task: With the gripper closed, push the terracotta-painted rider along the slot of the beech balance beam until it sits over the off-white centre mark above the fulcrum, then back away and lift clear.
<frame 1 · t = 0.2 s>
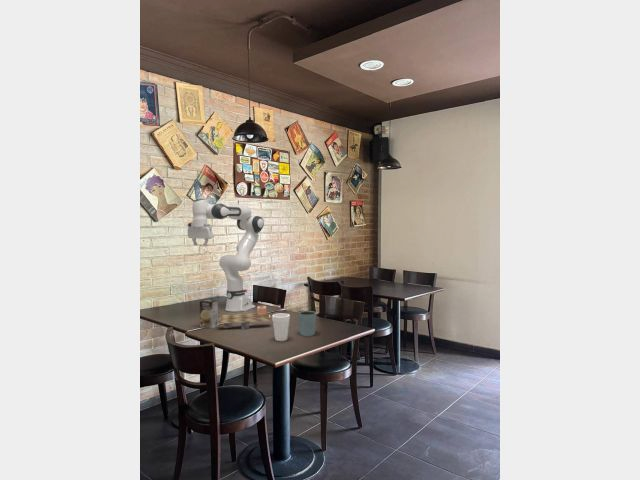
hand: (200, 245, 255), 48 cm above the table, fingers open, 8 cm apart
rider: (261, 310, 237), point 9 cm above the table, slide at -10.0 cm
coffee box: (209, 326, 238), on the table
beam: (245, 327, 236), on the table
teal cup: (307, 334, 222), on the table
foam cup: (281, 339, 212), on the table
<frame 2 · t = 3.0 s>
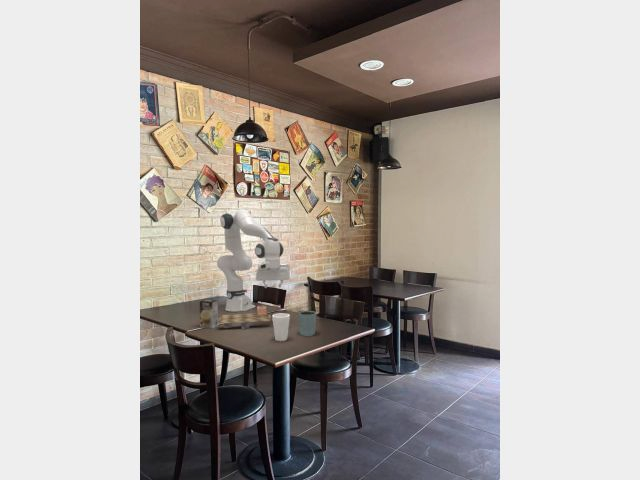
hand: (272, 287, 238), 23 cm above the table, fingers open, 7 cm apart
nothing on the table moved.
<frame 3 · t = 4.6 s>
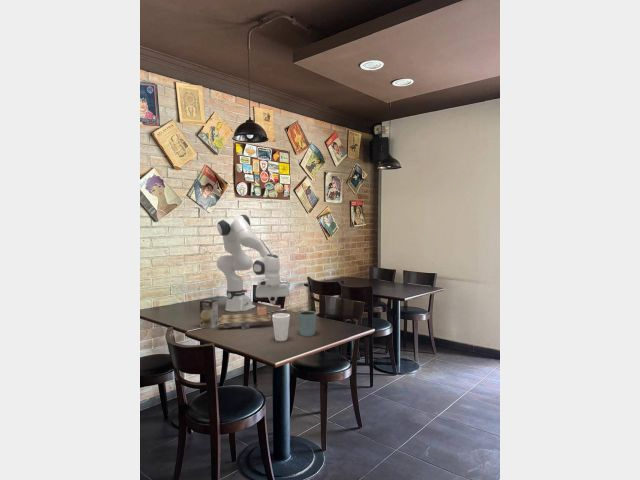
hand: (272, 304, 238), 13 cm above the table, fingers closed
nothing on the table moved.
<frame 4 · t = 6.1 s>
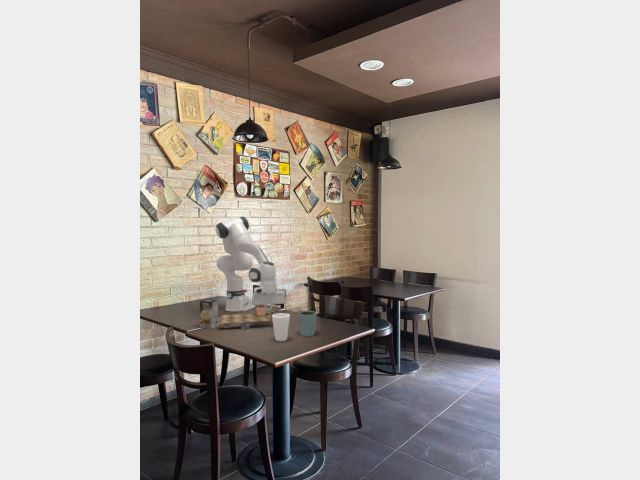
hand: (268, 311, 238), 9 cm above the table, fingers closed
rider: (261, 311, 237), point 9 cm above the table, slide at -9.6 cm, touching gripper
everything else where it was.
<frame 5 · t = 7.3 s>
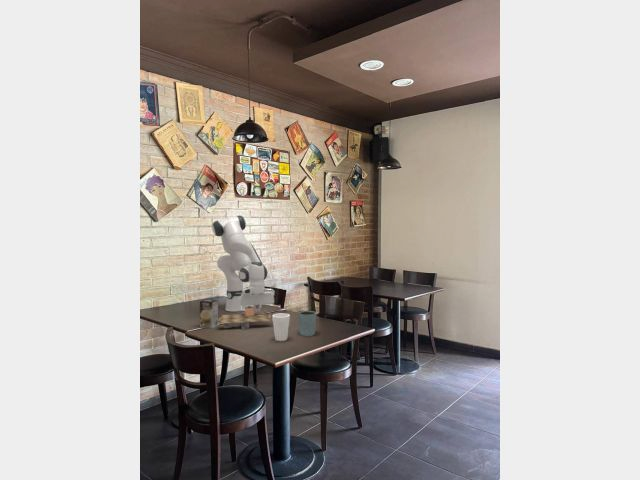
hand: (257, 312, 237), 9 cm above the table, fingers closed
rider: (249, 311, 236), point 9 cm above the table, slide at -2.7 cm, touching gripper
everything else where it was.
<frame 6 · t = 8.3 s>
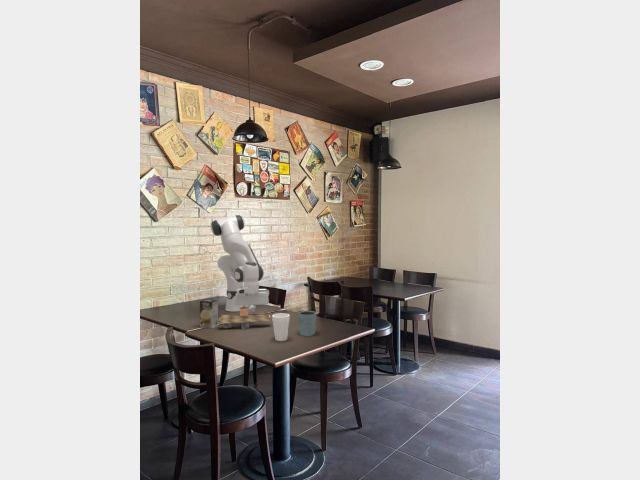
hand: (251, 312, 236), 9 cm above the table, fingers closed
rider: (244, 311, 235), point 9 cm above the table, slide at 0.5 cm, touching gripper
everything else where it was.
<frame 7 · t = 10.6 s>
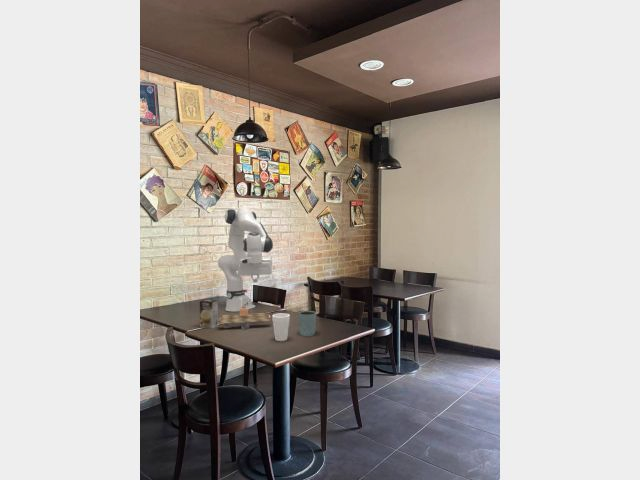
hand: (255, 282, 238), 26 cm above the table, fingers closed
rider: (243, 311, 235), point 9 cm above the table, slide at 0.6 cm
everything else where it was.
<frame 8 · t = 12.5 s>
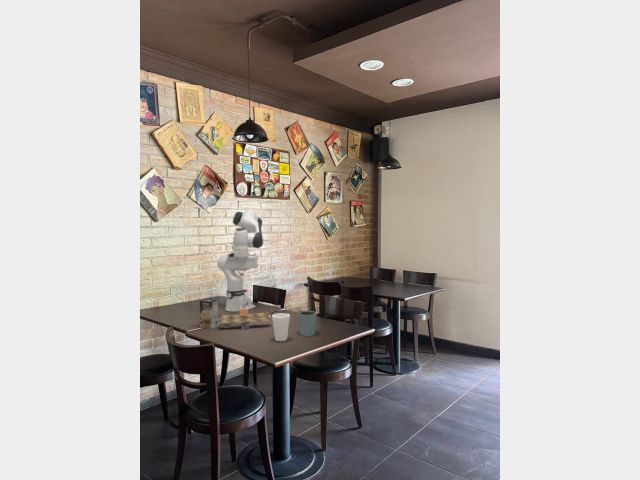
hand: (241, 275, 248), 29 cm above the table, fingers closed
nothing on the table moved.
at the end: rider slide at 0.6 cm; rider touching nothing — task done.
